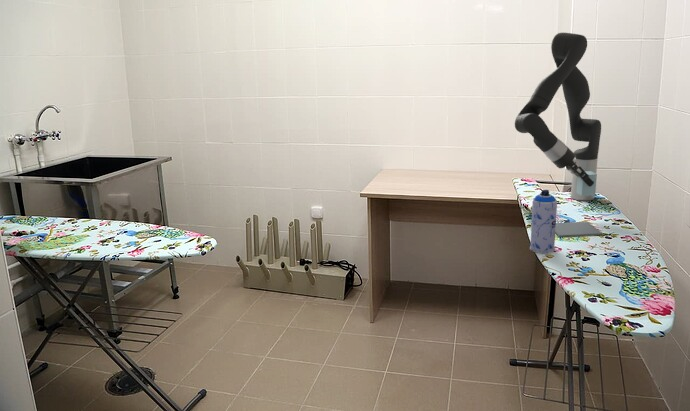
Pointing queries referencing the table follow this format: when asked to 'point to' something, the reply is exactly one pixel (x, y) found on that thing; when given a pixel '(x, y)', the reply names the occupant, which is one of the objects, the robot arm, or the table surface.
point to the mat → (576, 229)
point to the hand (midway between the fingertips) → (588, 182)
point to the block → (583, 187)
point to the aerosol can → (543, 223)
